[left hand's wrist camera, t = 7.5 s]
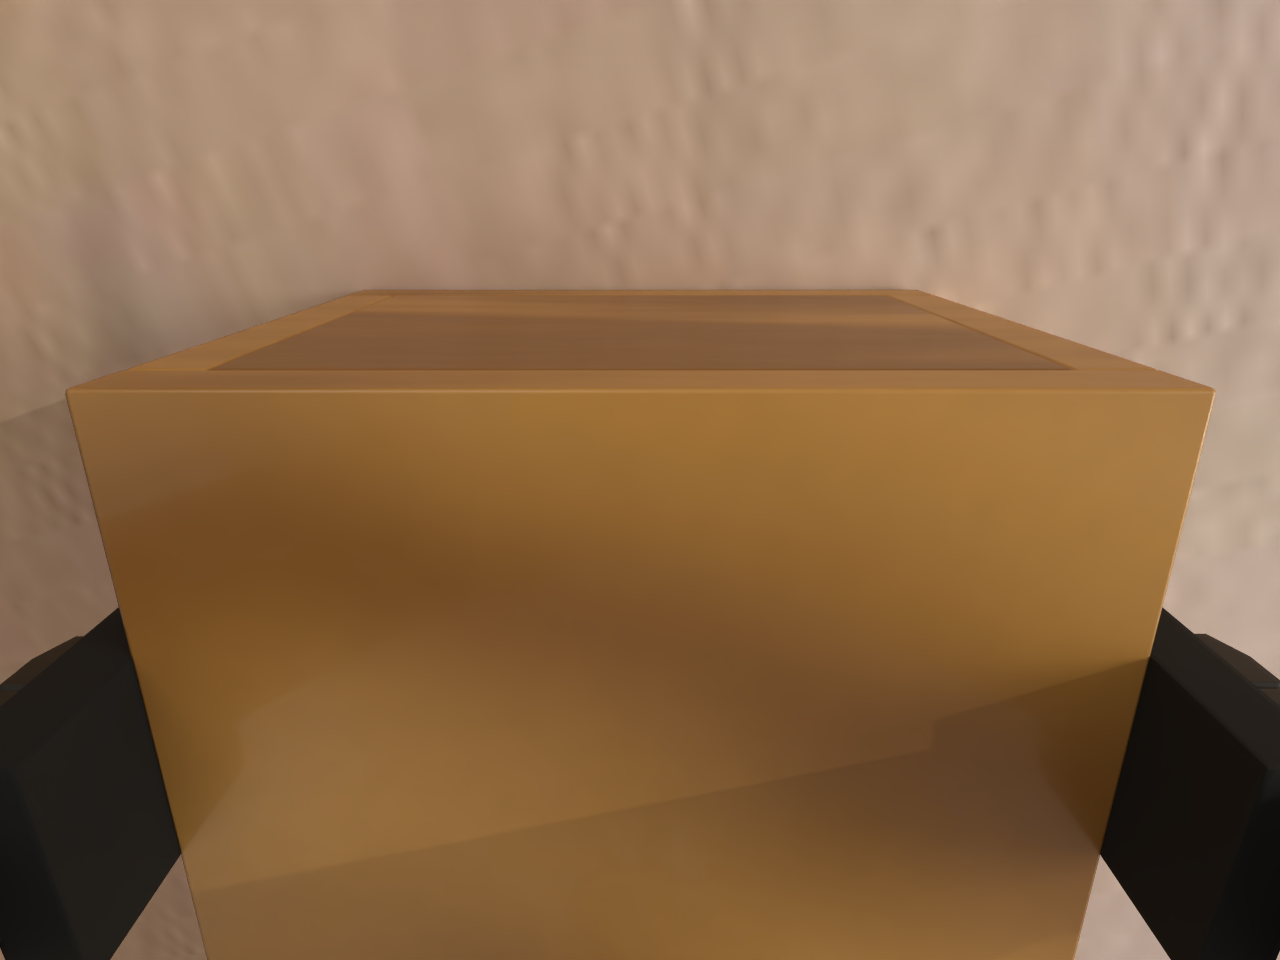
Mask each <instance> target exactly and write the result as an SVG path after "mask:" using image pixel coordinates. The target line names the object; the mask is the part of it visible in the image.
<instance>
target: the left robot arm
mask: <svg viewBox="0 0 1280 960" xmlns="http://www.w3.org/2000/svg"><path fill="white" fill-rule="evenodd" d="M180 855H181V852H180V848H179V844H178V840H177V836H176V832H175V828H174V824H173V820H172V816H171V812H170V808H169V804H168V800H167V796H166V792H165V788H164V784H163V780H162V776H161V772H160V768H159V764H158V760H157V756H156V752H155V748H154V744H153V740H152V736H151V732H150V728H149V724H148V720H147V716H146V712H145V708H144V704H143V700H142V696H141V693H140V689H139V685H138V681H137V677H136V673H135V669H134V665H133V661H132V657H131V653H130V649H129V645H128V641H127V637H126V633H125V629H124V625H123V621H122V617H121V613H120V609H119V607H118V608H117V609H116V610H115V611H114V612H113V613H111V614H110V615H109V616H108V617H107V618H105V619H104V620H103V621H102V622H101V623H99V624H98V625H97V626H96V627H95V628H93V629H92V630H91V631H90V632H89V633H87V634H86V635H85V636H76V637H74V638H72V639H70V640H68V641H66V642H64V643H63V644H61V645H59V646H57V647H55V648H53V649H51V650H49V651H47V652H45V653H43V654H41V655H39V656H37V657H35V658H33V659H32V660H30V661H29V662H28V663H27V664H25V665H24V666H23V667H22V668H20V669H19V670H18V671H17V672H16V673H14V674H13V675H12V676H11V677H9V678H8V679H7V680H6V681H4V682H3V683H2V684H1V685H0V948H1V951H2V953H3V955H4V958H5V960H110V959H111V957H112V956H113V954H114V953H115V951H116V950H117V948H118V947H119V945H120V944H121V942H122V941H123V939H124V938H125V937H126V935H127V934H128V932H129V931H130V929H131V928H132V926H133V925H134V923H135V922H136V920H137V919H138V917H139V916H140V914H141V913H142V911H143V910H144V908H145V907H146V905H147V904H148V902H149V901H150V899H151V898H152V896H153V895H154V893H155V892H156V890H157V889H158V887H159V886H160V884H161V883H162V881H163V880H164V878H165V877H166V875H167V874H168V872H169V871H170V869H171V868H172V867H173V865H174V864H175V862H176V861H177V859H178V858H179V856H180ZM1100 855H1101V856H1102V858H1103V859H1104V861H1105V862H1106V864H1107V865H1108V867H1109V868H1110V870H1111V871H1112V873H1113V874H1114V876H1115V877H1116V879H1117V880H1118V882H1119V883H1120V885H1121V886H1122V888H1123V889H1124V891H1125V892H1126V894H1127V895H1128V897H1129V898H1130V899H1131V901H1132V902H1133V904H1134V905H1135V907H1136V908H1137V910H1138V911H1139V913H1140V914H1141V916H1142V917H1143V919H1144V920H1145V922H1146V923H1147V925H1148V926H1149V928H1150V929H1151V931H1152V932H1153V934H1154V935H1155V937H1156V938H1157V940H1158V941H1159V943H1160V944H1161V946H1162V947H1163V949H1164V950H1165V952H1166V953H1167V955H1168V956H1169V958H1170V959H1171V960H1276V958H1277V956H1278V954H1279V951H1280V680H1279V679H1278V678H1276V677H1275V676H1274V675H1273V674H1271V673H1270V672H1269V671H1267V670H1266V669H1265V668H1264V667H1262V666H1261V665H1260V664H1259V663H1257V662H1256V661H1255V660H1254V659H1252V658H1251V657H1250V656H1248V655H1246V654H1244V653H1242V652H1240V651H1238V650H1236V649H1234V648H1232V647H1230V646H1228V645H1226V644H1224V643H1223V642H1221V641H1219V640H1217V639H1215V638H1213V637H1211V636H1209V635H1207V634H1194V633H1192V632H1191V631H1190V630H1189V629H1188V628H1186V627H1185V626H1184V625H1183V624H1182V623H1180V622H1179V621H1178V620H1177V619H1176V618H1174V617H1173V616H1172V615H1171V614H1170V613H1168V612H1167V611H1166V610H1165V609H1164V608H1162V610H1161V614H1160V618H1159V622H1158V626H1157V630H1156V634H1155V638H1154V642H1153V646H1152V650H1151V654H1150V658H1149V662H1148V666H1147V670H1146V674H1145V678H1144V682H1143V686H1142V690H1141V694H1140V698H1139V702H1138V706H1137V710H1136V714H1135V718H1134V722H1133V726H1132V730H1131V734H1130V738H1129V742H1128V746H1127V750H1126V754H1125V758H1124V762H1123V765H1122V769H1121V773H1120V777H1119V781H1118V785H1117V789H1116V793H1115V797H1114V801H1113V805H1112V809H1111V813H1110V817H1109V821H1108V825H1107V829H1106V833H1105V837H1104V841H1103V845H1102V849H1101V853H1100Z"/></svg>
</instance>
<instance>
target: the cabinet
mask: <svg viewBox="0 0 1280 960" xmlns="http://www.w3.org/2000/svg"><path fill="white" fill-rule="evenodd" d="M1215 395H1216V391H1215V389H1213V388H1211V387H1208V386H1205V385H1202V384H1199V383H1196V382H1193V381H1190V380H1187V379H1184V378H1181V377H1178V376H1175V375H1172V374H1169V373H1166V372H1163V371H1160V370H1156V369H1154V368H1151V367H1148V366H1145V365H1142V364H1139V363H1136V362H1133V361H1130V360H1127V359H1124V358H1121V357H1118V356H1115V355H1112V354H1109V353H1106V352H1103V351H1100V350H1097V349H1094V348H1091V347H1088V346H1085V345H1082V344H1079V343H1076V342H1073V341H1070V340H1067V339H1064V338H1061V337H1058V336H1055V335H1052V334H1049V333H1046V332H1043V331H1040V330H1037V329H1034V328H1031V327H1028V326H1025V325H1022V324H1019V323H1016V322H1013V321H1010V320H1007V319H1004V318H1001V317H998V316H994V315H991V314H988V313H985V312H982V311H979V310H976V309H973V308H970V307H967V306H964V305H961V304H958V303H955V302H952V301H949V300H946V299H943V298H940V297H937V296H934V295H931V294H928V293H925V292H922V291H919V290H362V291H359V292H356V293H353V294H350V295H348V296H345V297H342V298H339V299H336V300H333V301H330V302H327V303H324V304H321V305H318V306H315V307H312V308H309V309H306V310H303V311H300V312H297V313H294V314H291V315H288V316H285V317H282V318H279V319H276V320H273V321H270V322H267V323H264V324H261V325H258V326H255V327H252V328H249V329H246V330H243V331H240V332H237V333H234V334H231V335H228V336H225V337H223V338H220V339H217V340H214V341H211V342H208V343H205V344H202V345H199V346H196V347H193V348H190V349H187V350H184V351H181V352H178V353H175V354H172V355H169V356H166V357H163V358H160V359H157V360H154V361H151V362H148V363H145V364H142V365H139V366H136V367H133V368H130V369H128V370H126V371H119V372H116V373H113V374H110V375H107V376H104V377H101V378H98V379H95V380H92V381H89V382H86V383H83V384H80V385H77V386H74V387H71V388H69V389H67V390H66V398H67V402H68V406H69V410H70V414H71V418H72V422H73V426H74V430H75V434H76V438H77V442H78V446H79V450H80V454H81V458H82V462H83V466H84V470H85V474H86V478H87V482H88V486H89V490H90V493H91V497H92V501H93V505H94V509H95V513H96V517H97V521H98V525H99V529H100V533H101V537H102V541H103V545H104V549H105V553H106V557H107V561H108V565H109V569H110V573H111V577H112V581H113V585H114V589H115V593H116V597H117V601H118V605H119V609H120V613H121V617H122V621H123V625H124V629H125V633H126V637H127V641H128V645H129V649H130V653H131V657H132V661H133V665H134V669H135V673H136V677H137V681H138V685H139V689H140V693H141V696H142V700H143V704H144V708H145V712H146V716H147V720H148V724H149V728H150V732H151V736H152V740H153V744H154V748H155V752H156V756H157V760H158V764H159V768H160V772H161V776H162V780H163V784H164V788H165V792H166V796H167V800H168V804H169V808H170V812H171V816H172V820H173V824H174V828H175V832H176V836H177V840H178V844H179V848H180V852H181V856H182V860H183V864H184V868H185V872H186V876H187V880H188V884H189V888H190V892H191V896H192V900H193V903H194V907H195V911H196V915H197V919H198V923H199V927H200V931H201V935H202V939H203V943H204V947H205V951H206V955H207V959H208V960H1074V957H1075V953H1076V949H1077V945H1078V941H1079V937H1080V933H1081V929H1082V925H1083V921H1084V917H1085V913H1086V909H1087V905H1088V901H1089V897H1090V893H1091V889H1092V885H1093V881H1094V877H1095V873H1096V869H1097V865H1098V861H1099V857H1100V853H1101V849H1102V845H1103V841H1104V837H1105V833H1106V829H1107V825H1108V821H1109V817H1110V813H1111V809H1112V805H1113V801H1114V797H1115V793H1116V789H1117V785H1118V781H1119V777H1120V773H1121V769H1122V765H1123V762H1124V758H1125V754H1126V750H1127V746H1128V742H1129V738H1130V734H1131V730H1132V726H1133V722H1134V718H1135V714H1136V710H1137V706H1138V702H1139V698H1140V694H1141V690H1142V686H1143V682H1144V678H1145V674H1146V670H1147V666H1148V662H1149V658H1150V654H1151V650H1152V646H1153V642H1154V638H1155V634H1156V630H1157V626H1158V622H1159V618H1160V614H1161V610H1162V606H1163V602H1164V598H1165V594H1166V590H1167V586H1168V582H1169V578H1170V574H1171V570H1172V566H1173V562H1174V559H1175V555H1176V551H1177V547H1178V543H1179V539H1180V535H1181V531H1182V527H1183V523H1184V519H1185V515H1186V511H1187V507H1188V503H1189V499H1190V495H1191V491H1192V487H1193V483H1194V479H1195V475H1196V471H1197V467H1198V463H1199V459H1200V455H1201V451H1202V447H1203V443H1204V439H1205V435H1206V431H1207V427H1208V423H1209V419H1210V415H1211V411H1212V407H1213V403H1214V399H1215Z"/></svg>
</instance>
